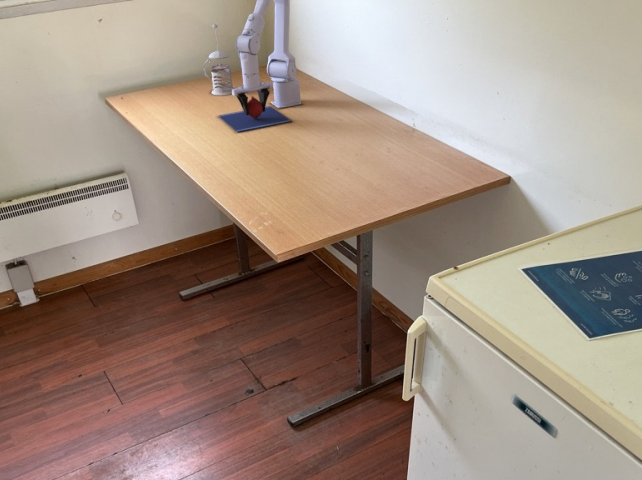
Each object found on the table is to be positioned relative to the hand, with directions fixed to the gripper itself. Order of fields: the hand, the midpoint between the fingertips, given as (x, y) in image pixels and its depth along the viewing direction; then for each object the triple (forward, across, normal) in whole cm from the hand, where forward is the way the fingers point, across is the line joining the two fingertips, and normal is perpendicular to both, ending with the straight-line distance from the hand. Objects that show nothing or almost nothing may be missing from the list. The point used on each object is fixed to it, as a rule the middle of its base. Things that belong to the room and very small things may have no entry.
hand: (254, 112), depth 234 cm
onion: (+2, 0, 0) cm, 2 cm away
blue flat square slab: (+3, 0, -1) cm, 3 cm away
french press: (+3, -4, -40) cm, 40 cm away
